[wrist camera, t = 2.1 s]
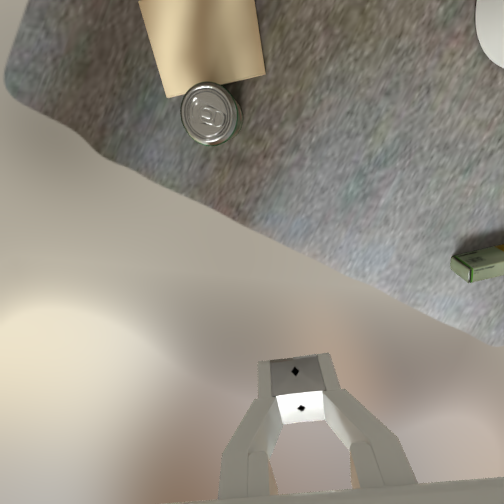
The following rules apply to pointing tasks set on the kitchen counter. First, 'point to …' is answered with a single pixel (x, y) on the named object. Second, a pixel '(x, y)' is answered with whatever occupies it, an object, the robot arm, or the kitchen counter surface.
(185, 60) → the cork mat
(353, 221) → the kitchen counter surface
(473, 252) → the medication box
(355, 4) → the kitchen counter surface
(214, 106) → the soda can
